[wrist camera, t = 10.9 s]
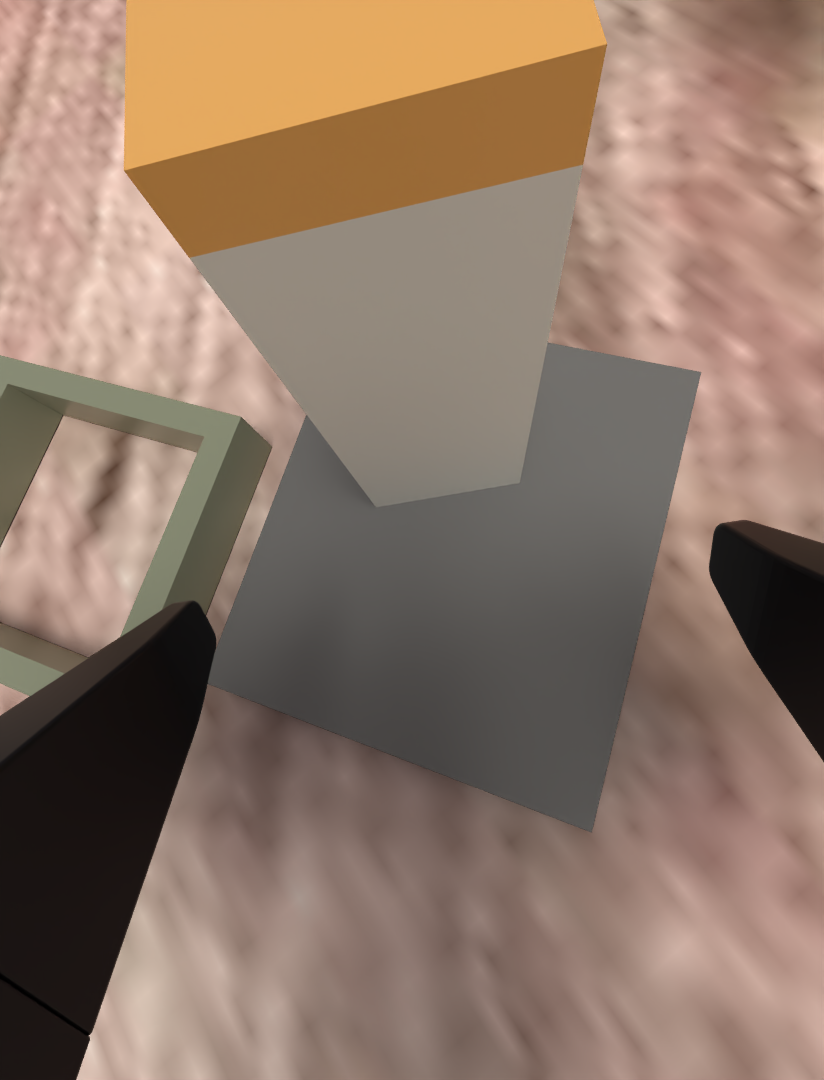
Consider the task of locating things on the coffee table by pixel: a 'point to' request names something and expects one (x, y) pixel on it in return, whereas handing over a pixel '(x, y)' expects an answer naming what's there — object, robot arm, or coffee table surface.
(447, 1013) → the coffee table surface
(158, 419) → the case bay
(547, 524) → the rubber mat
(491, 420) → the block
